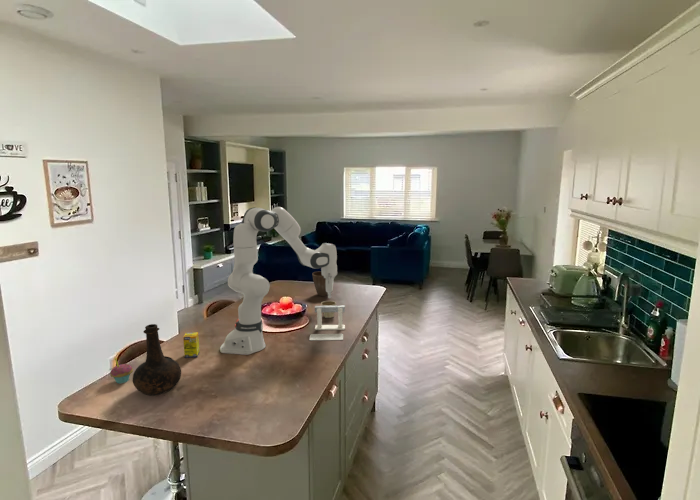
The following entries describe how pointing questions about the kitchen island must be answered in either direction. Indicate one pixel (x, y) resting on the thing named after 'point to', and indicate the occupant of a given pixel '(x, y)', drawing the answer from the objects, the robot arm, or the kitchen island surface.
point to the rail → (330, 308)
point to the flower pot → (328, 303)
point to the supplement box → (191, 345)
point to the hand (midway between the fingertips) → (329, 295)
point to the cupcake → (121, 372)
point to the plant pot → (320, 283)
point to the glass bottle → (156, 367)
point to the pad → (326, 337)
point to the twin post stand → (329, 327)
